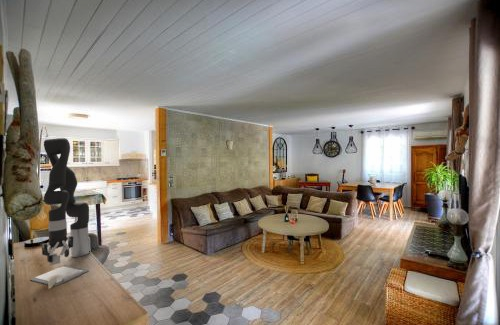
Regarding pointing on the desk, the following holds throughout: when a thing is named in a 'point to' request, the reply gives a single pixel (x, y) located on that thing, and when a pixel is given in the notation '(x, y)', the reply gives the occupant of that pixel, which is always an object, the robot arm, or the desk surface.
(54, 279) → the cream rectangular slab
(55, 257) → the lighter
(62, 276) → the clipboard
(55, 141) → the robot arm
